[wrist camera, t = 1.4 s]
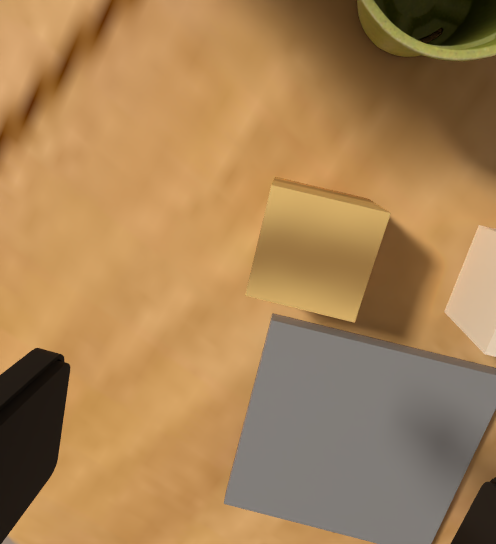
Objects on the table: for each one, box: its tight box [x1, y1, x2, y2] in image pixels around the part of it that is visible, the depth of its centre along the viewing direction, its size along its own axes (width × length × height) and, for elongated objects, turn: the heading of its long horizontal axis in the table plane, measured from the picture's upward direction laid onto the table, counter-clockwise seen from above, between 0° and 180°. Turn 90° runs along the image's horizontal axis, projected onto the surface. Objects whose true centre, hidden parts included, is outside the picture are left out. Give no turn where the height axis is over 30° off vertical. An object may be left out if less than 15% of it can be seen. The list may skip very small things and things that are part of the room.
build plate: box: [224, 314, 496, 544], centre depth 30 cm, size 16×16×1 cm
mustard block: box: [245, 177, 391, 323], centre depth 24 cm, size 6×6×6 cm
